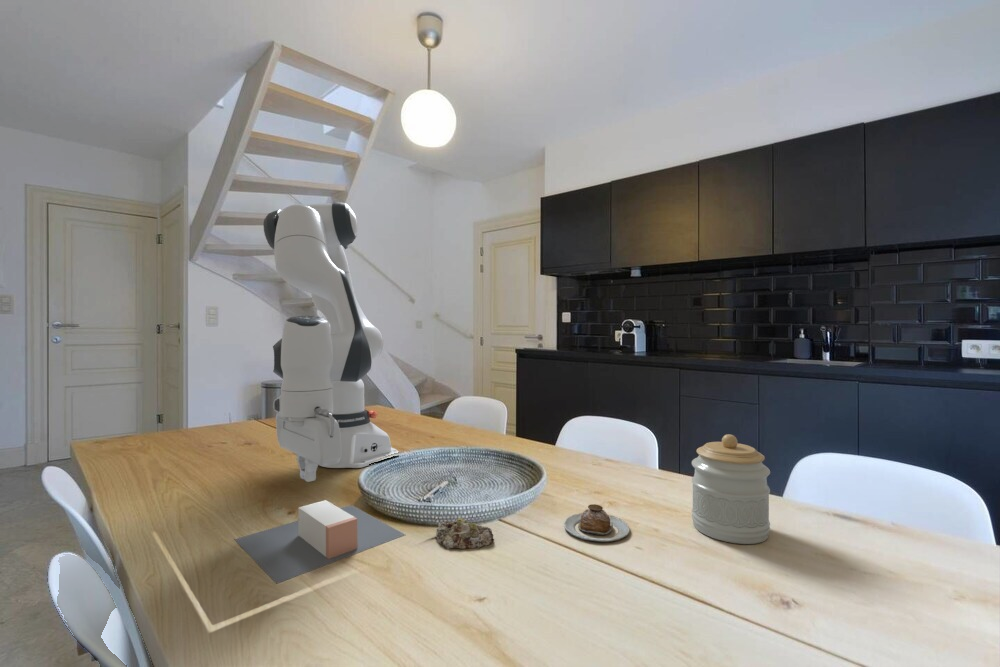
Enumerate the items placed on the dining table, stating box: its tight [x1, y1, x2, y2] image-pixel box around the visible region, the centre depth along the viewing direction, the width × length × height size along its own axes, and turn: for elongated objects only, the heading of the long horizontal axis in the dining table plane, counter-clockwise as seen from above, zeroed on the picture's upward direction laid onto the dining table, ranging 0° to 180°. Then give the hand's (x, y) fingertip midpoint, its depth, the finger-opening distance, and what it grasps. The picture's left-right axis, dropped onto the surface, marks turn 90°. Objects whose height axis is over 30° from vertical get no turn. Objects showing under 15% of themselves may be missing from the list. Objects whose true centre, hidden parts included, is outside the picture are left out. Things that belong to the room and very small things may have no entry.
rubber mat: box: [234, 504, 406, 584], centre depth 81 cm, size 22×20×1 cm
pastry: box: [563, 504, 631, 543], centre depth 86 cm, size 12×12×5 cm
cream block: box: [297, 499, 358, 559], centre depth 80 cm, size 5×5×12 cm
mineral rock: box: [435, 517, 495, 550], centre depth 82 cm, size 11×4×8 cm
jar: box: [691, 433, 771, 545], centre depth 85 cm, size 13×13×18 cm
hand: (307, 479), depth 85 cm, fingers closed
